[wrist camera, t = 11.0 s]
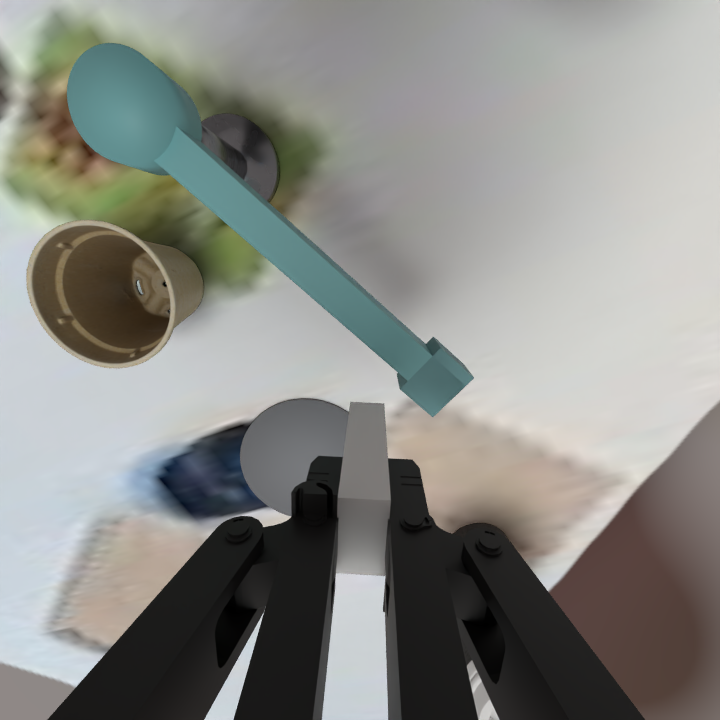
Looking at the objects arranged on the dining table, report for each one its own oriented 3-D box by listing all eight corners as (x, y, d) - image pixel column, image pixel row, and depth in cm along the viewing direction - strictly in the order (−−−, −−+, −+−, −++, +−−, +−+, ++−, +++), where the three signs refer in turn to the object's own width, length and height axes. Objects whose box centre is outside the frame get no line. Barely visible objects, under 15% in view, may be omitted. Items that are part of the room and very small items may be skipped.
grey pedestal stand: (218, 96, 28) (128, 9, 18) (296, 158, 29) (256, 110, 19) (174, 180, 30) (68, 145, 20) (249, 235, 31) (188, 231, 21)
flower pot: (246, 303, 33) (204, 324, 25) (161, 356, 34) (95, 392, 26) (177, 202, 31) (106, 187, 22) (90, 264, 32) (-6, 271, 24)
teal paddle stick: (97, 131, 19) (48, 111, 16) (143, 51, 18) (100, 15, 15) (417, 406, 23) (424, 429, 20) (471, 354, 22) (486, 370, 19)
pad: (288, 372, 35) (287, 373, 34) (402, 448, 36) (402, 451, 36) (217, 471, 38) (215, 474, 37) (324, 537, 40) (324, 540, 39)
